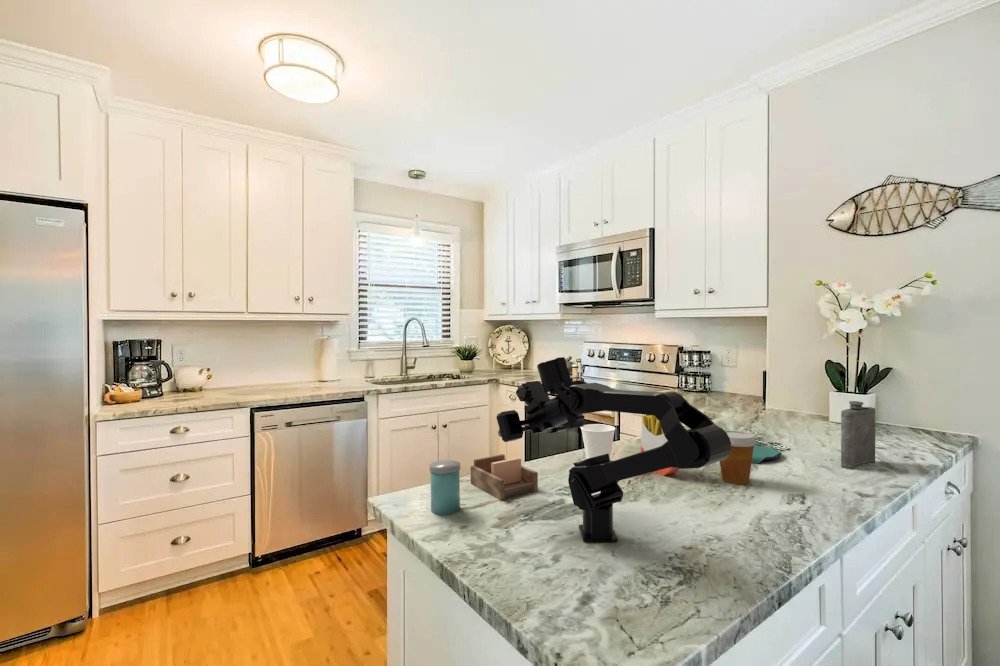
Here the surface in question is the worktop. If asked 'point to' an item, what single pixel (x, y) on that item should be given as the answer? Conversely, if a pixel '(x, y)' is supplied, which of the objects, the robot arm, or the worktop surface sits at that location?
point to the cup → (597, 439)
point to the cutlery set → (765, 452)
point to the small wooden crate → (495, 485)
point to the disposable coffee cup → (738, 458)
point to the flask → (857, 435)
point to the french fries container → (653, 438)
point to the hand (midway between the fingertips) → (514, 431)
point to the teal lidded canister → (445, 487)
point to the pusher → (507, 470)
